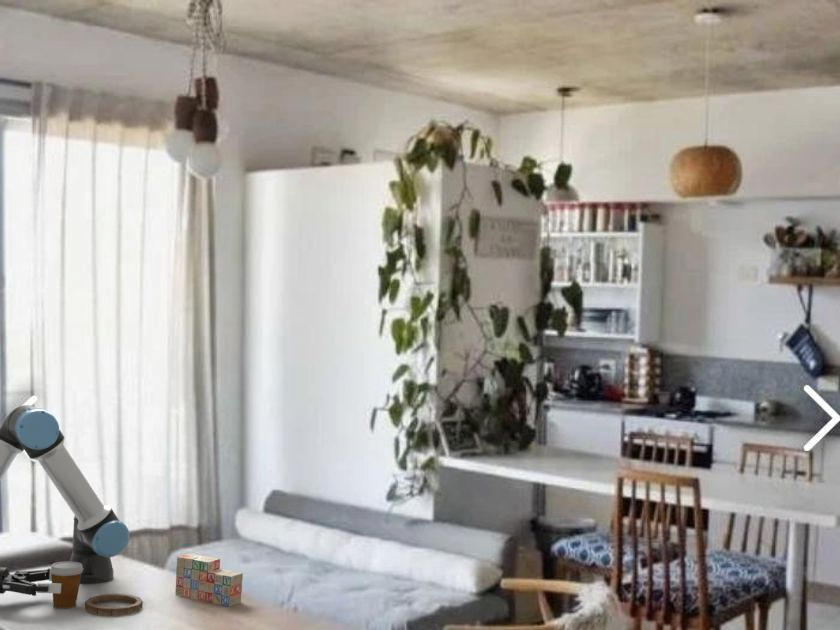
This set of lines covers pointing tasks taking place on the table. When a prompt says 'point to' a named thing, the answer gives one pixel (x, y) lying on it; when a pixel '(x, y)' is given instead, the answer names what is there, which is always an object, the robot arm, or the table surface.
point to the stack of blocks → (207, 580)
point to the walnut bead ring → (113, 611)
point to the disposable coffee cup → (66, 583)
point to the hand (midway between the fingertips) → (66, 582)
